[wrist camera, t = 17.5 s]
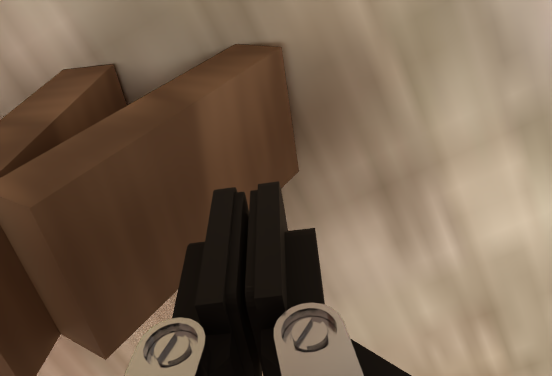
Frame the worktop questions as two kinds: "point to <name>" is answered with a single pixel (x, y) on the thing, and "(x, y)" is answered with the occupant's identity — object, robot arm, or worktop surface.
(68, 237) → the walnut domino
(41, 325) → the walnut domino
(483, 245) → the worktop surface
